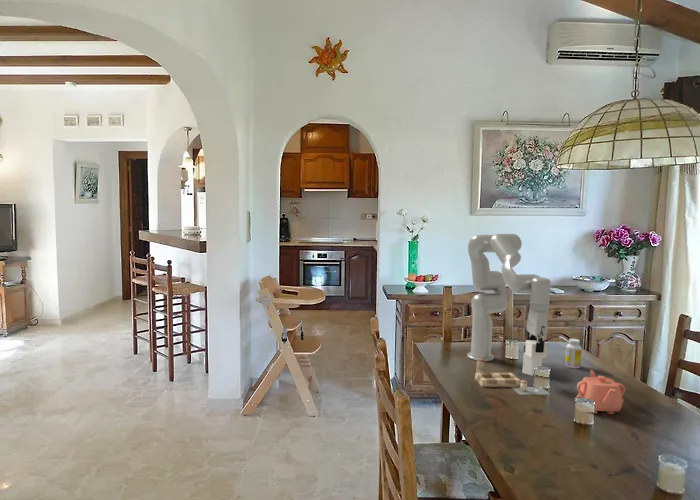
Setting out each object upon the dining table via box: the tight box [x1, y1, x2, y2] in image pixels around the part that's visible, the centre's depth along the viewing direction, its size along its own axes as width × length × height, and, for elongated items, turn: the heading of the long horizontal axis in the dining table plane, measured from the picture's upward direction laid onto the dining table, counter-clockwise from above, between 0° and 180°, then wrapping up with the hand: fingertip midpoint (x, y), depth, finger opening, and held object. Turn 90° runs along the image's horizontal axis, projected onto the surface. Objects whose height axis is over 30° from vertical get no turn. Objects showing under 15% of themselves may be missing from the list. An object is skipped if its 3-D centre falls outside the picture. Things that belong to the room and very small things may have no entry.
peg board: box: [474, 372, 521, 388], centre depth 214 cm, size 9×16×3 cm, turn 95°
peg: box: [475, 358, 486, 373], centre depth 221 cm, size 3×3×8 cm
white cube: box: [525, 339, 548, 359], centre depth 213 cm, size 6×6×6 cm
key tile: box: [510, 379, 552, 396], centre depth 206 cm, size 8×13×4 cm, turn 95°
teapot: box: [576, 369, 626, 415], centre depth 190 cm, size 15×17×13 cm
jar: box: [521, 344, 543, 377], centre depth 229 cm, size 9×8×12 cm
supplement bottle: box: [564, 338, 583, 369], centre depth 240 cm, size 7×7×13 cm
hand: (535, 349), depth 213 cm, fingers closed on white cube, 6 cm apart
